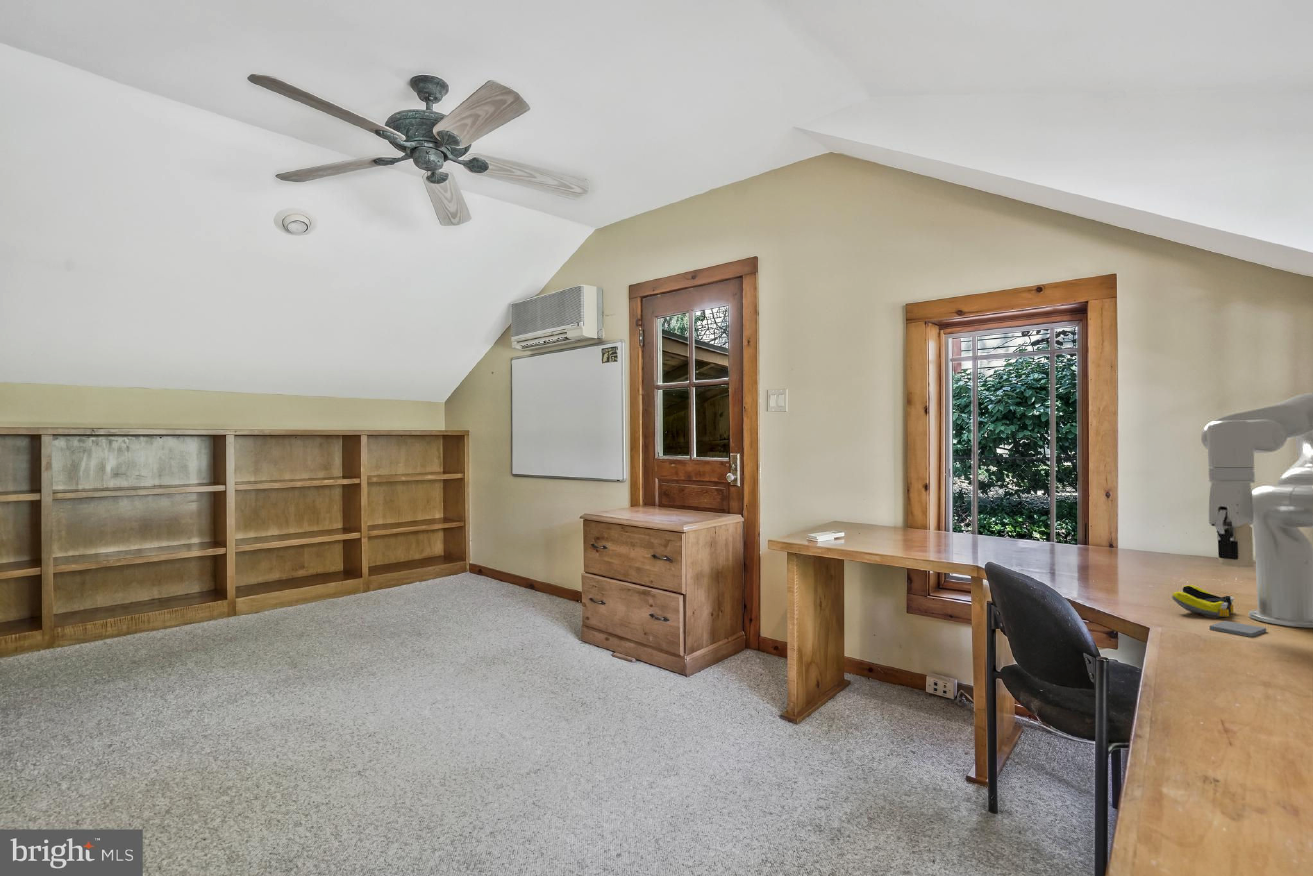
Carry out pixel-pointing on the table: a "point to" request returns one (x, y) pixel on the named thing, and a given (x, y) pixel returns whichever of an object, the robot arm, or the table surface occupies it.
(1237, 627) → the grey flat block
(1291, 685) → the table surface
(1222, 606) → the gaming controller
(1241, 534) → the candle
